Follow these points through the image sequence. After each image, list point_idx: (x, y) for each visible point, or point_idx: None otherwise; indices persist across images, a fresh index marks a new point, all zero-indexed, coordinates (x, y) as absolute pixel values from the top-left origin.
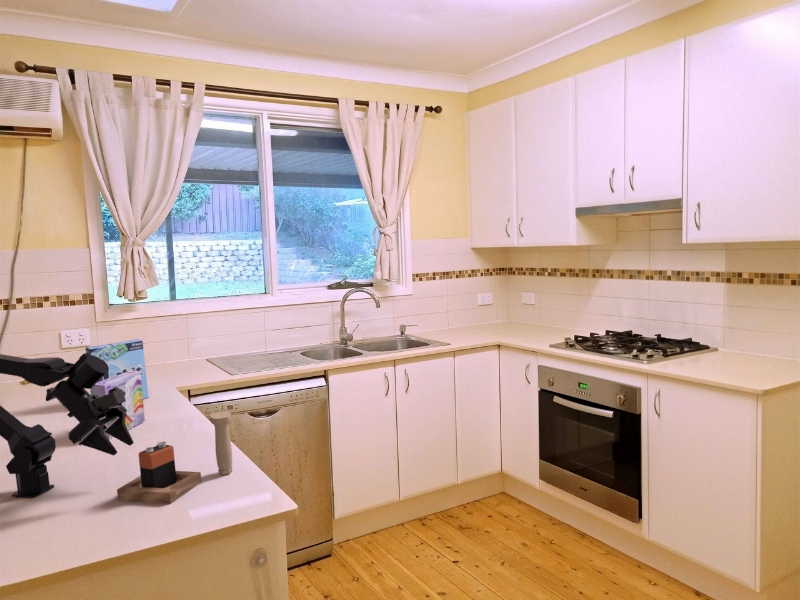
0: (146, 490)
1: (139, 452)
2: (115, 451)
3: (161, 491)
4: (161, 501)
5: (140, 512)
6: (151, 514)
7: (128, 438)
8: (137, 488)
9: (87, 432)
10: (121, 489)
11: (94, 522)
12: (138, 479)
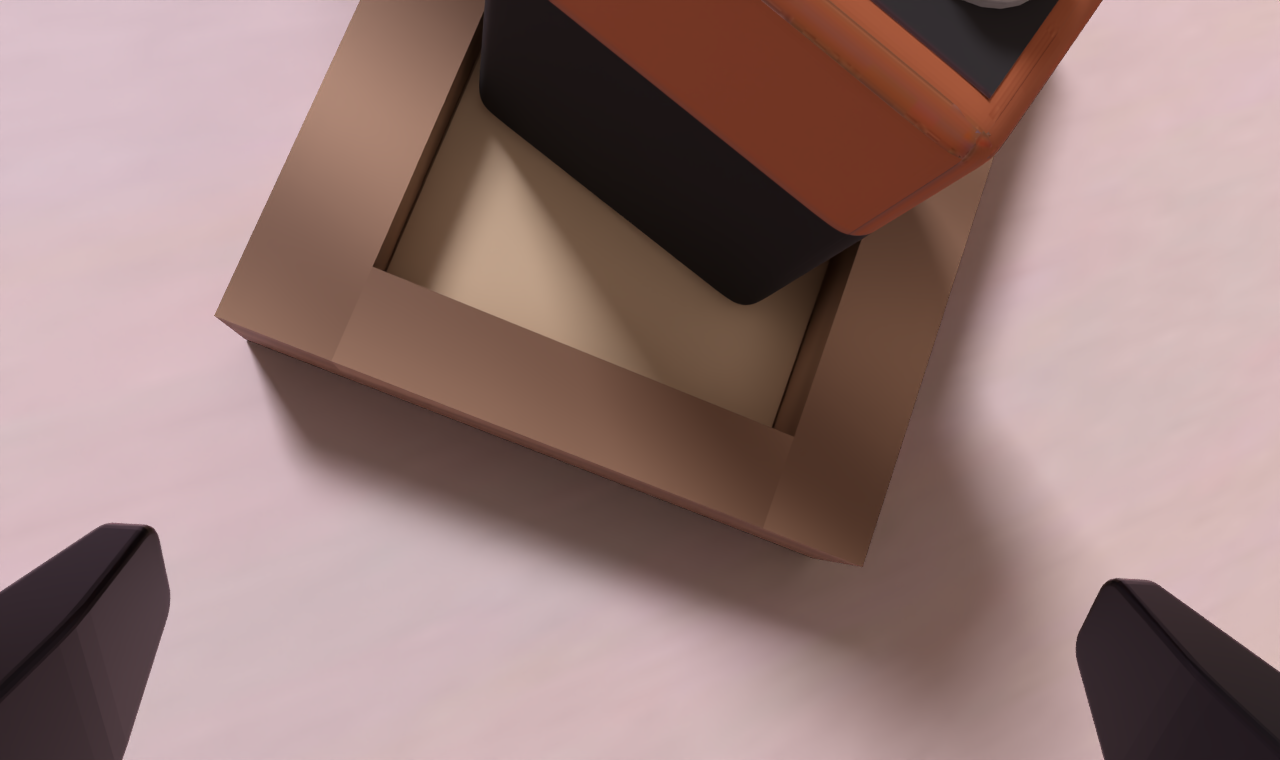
0: (959, 186)
1: (986, 134)
2: (1181, 603)
3: None
4: None
5: (1135, 223)
6: (1187, 112)
7: (78, 666)
8: (883, 310)
9: None
10: (876, 504)
11: (1270, 595)
12: (586, 386)
